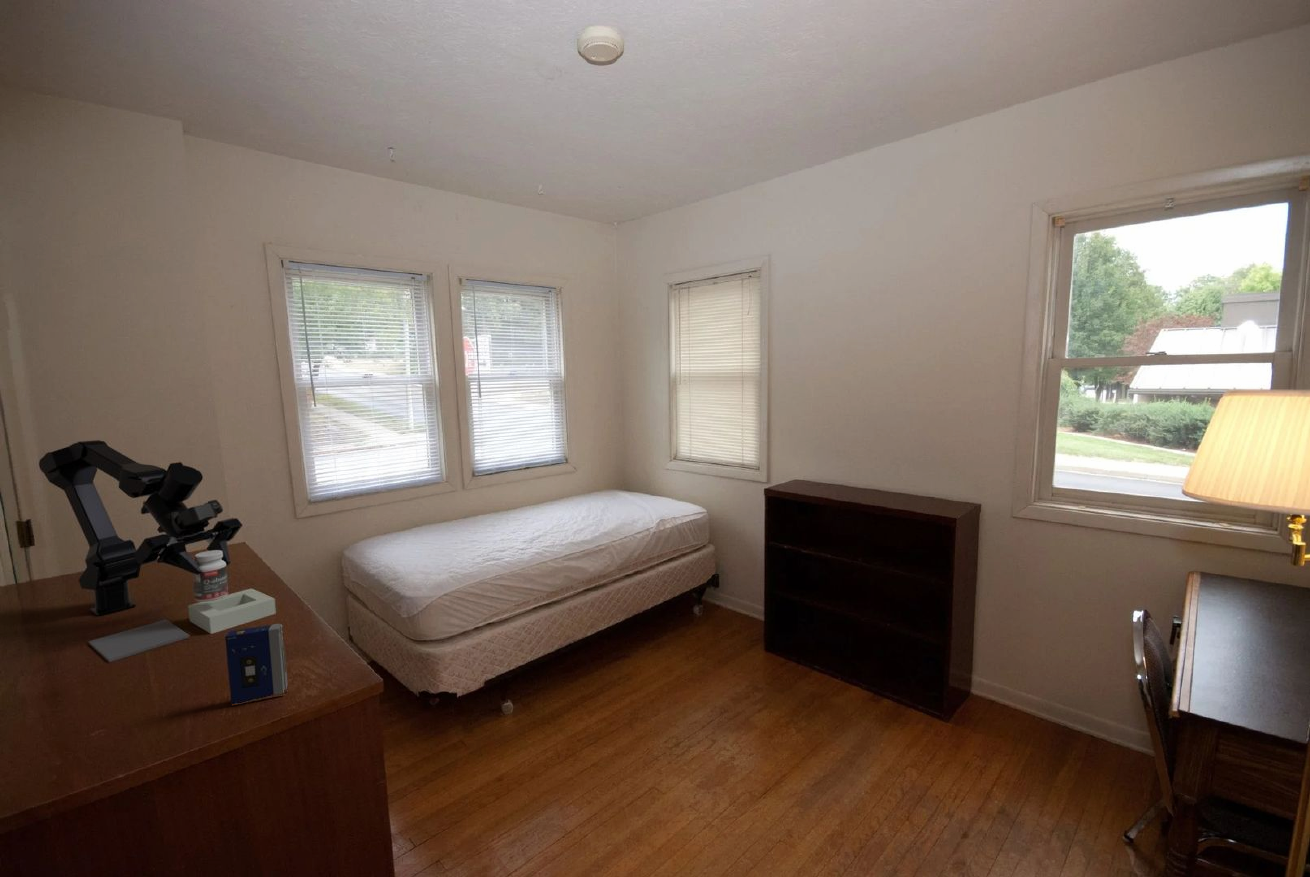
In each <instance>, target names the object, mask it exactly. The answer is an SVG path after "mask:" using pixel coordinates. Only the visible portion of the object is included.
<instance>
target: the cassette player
mask: <svg viewBox="0 0 1310 877" xmlns="http://www.w3.org/2000/svg"><path fill="white" fill-rule="evenodd" d="M282 628H283V624H281V623H280V622H279V623H274V624H268V625H261V626H255V627H249V628H242V629H234V630H229V631H228V633H227V634H226V635H225V639H224V640H225V648H226V649H225V650H226V659H227V661H226V662H227V671H228V683H229V693H230V694H229V695H230V705H231V704H235V703H242V702H246V701H250V700H253V699H259V698H263V697H267V696H271V695H273V694H281V693H284V690H286V689H287V686H288V674H287V664H286V662H287V661H286V660H287V659H286V651H285V650H286V649H285V644H284V638H283V630H282ZM288 687H289V686H288Z"/></svg>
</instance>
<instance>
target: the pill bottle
mask: <svg viewBox="0 0 1310 877" xmlns="http://www.w3.org/2000/svg"><path fill="white" fill-rule="evenodd" d="M222 557H223V552H222V551H221V550H212V551H209V550H207V551H200V552H199V553H197V554H195V555H194V561H195V562H196V564H197V565H198V566H199V568H200V570H201V573H200V574H199V575H196V574H194V573H192V579H193V580H192V581H193V594H194V596H193V597H194V600H195V601H196V602H197V603H200V602H209V601H214V600H218V599H221V598H223V597H225V596H227V595H229V585H228V583H229V582H228V571H227V570H228V569H227V566H226V562H225V561H223V560H222V559H221V558H222Z"/></svg>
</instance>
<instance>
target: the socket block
mask: <svg viewBox="0 0 1310 877" xmlns="http://www.w3.org/2000/svg"><path fill="white" fill-rule="evenodd" d="M187 609H188V619H189V622H191V623H192V624H194V625H196V626H197V627H199V628H201V629H203V630H204V631H205V632H207V633H208V634H211V635H212V634H215V633H219V632H222V631H225V630H228V629H231V628H234V627H237V626H241V625H244V624H247V623H251V622H253V621H257V620H260V619H263V618H266V617H269V616H273V615H276V613H277V612H276V599H275V598H274V597H272V596H270V595H267V594H265V593H263V592H260V591H259V590H257V589H256V590H255V589H254V588H249V589H248V588H247V589H243V590H240V591H237V592H233V593H230V594H229V593H228V594H227V596H225V597H223V598H221V599H218V600H214V601H209V602H197V603H192V604H188V606H187Z"/></svg>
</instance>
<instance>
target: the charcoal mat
mask: <svg viewBox="0 0 1310 877" xmlns="http://www.w3.org/2000/svg"><path fill="white" fill-rule="evenodd" d="M188 638H190V634H189V633H187V632H185V631H184V630H182V629H181V628H180V627H178V626H176V625H175V624H173V623H171V622H170V621H168V620H167V619H163V620H160V621H155V622H152V623H149V624H145V625H141V626H139V627H135V628H131V629H128V630H123V631H121V632H117V633H113V634H110V635H106V636H103V637H100V638H95V639H92V640H91V639H90V640H88V644H89V645H90V646H91V647H92V648H93V649H94V650H95V651H96V652H97V653H98V654H100V655H101V656H102V657H103V658H104V659H105V660H106V661H107V662H108V663H110V662H115V661H118V660H120V659H124V658H127V657H130V656H134V655H137V654H140V653H143V652H147V651H149V650H153V649H156V648H160V647H162V646H165V645H169V644H172V643H175V642H179V641H182V640H185V639H188Z"/></svg>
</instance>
